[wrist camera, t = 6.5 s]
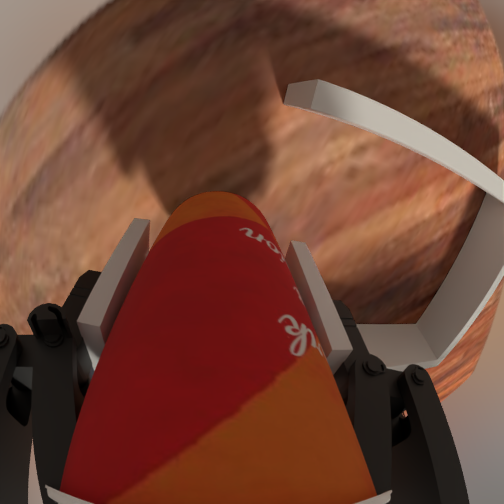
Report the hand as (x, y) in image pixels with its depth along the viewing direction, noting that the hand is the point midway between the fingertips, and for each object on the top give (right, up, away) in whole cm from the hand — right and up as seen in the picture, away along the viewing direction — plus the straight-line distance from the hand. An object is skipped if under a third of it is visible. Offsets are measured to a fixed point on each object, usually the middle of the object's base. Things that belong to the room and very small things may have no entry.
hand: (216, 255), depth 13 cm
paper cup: (0, +1, +1) cm, 2 cm away
